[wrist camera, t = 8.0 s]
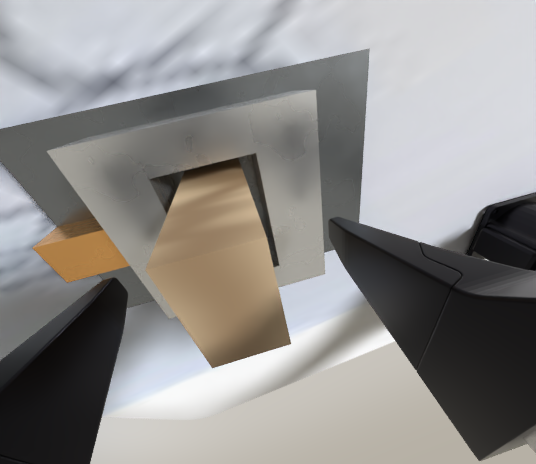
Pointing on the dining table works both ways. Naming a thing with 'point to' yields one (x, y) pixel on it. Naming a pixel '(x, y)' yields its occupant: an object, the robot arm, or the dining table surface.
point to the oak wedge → (219, 266)
